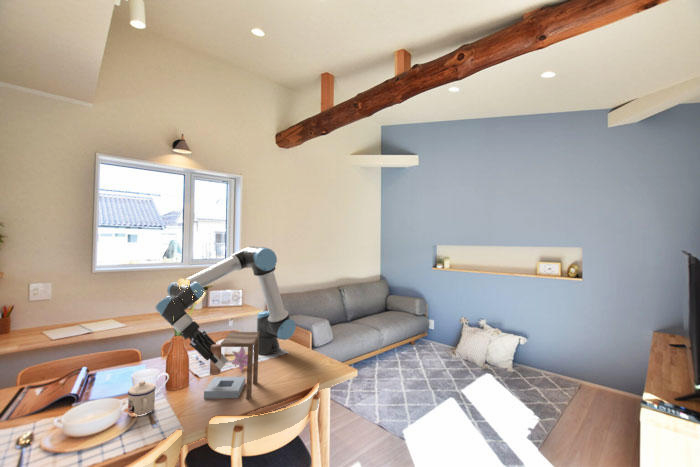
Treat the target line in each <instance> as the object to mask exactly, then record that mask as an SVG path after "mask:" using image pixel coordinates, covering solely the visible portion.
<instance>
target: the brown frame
mask: <svg viewBox="0 0 700 467" xmlns="http://www.w3.org/2000/svg"><path fill="white" fill-rule="evenodd" d="M220 345H221V348H241V347H244V348H247V354H248V361H247V366H246V392H245V393H246V397H245V398H246V400H251V399H252V393H253V391H252V390H253V389H252V388H253V385H257V384H258V380H259V378H258V377H259V375H258V374H259V354H258V353H259V332H257V331H230V333H228V334H227V336H225V338H224V339H223V340H222V341H221V342H220ZM253 347H254V352H253Z"/></svg>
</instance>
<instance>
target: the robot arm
mask: <svg viewBox="0 0 700 467" xmlns="http://www.w3.org/2000/svg"><path fill="white" fill-rule="evenodd" d="M277 262H278V259H277V255H276V252H275V251H274V250H272V249H271V248H269V247H265V246H264V247H263V246H247V247H244V248H242V249H240V250H238V251H236V252H234V253H232V254H230V255H229V257H228V258H226V259H224V260H222V261H220V262H218V263H216V264H213V265H212V266H210V267H208V268H206V269H203V270H202V271H199V272H198V273H196V274H194V275H192V276H189V277H187V278H186V279H189V280H190V285H189V287H188V285H182V286H180V285H178V282H179V281H175V282H172V283H170V284H169V285H168V287H167V294H168V296H166V297H164V298H163V299H161V300H160V301H159V302H158V303H157V304H156V305H155V309H156V310H155V311H156V312H158V313H159V314H160V316H161V317H162V318H163V319H164V320H165V321H166V322H167V323H168V324H170V326H171V327H173V330H175V331H176V332H178V333H179V334H180V336H181V337H182V336H183V337H182V338H183V339H185V340H187V339H189V340H190V343H189V346H191V347H192V348H194V350H195V351H196V352H198V354H200V356H202V357H203V358H204V359H205V360H206V361H210V360H211V361H212V362H213V363H214V364H215V365H216V366H217V367H218V368H219V369H221V370H222V369H223V367H225V366H226V363H228V361H229V359H228V358H227V357H226V356H225V355H224V354H223V352H221V360H220V359H219V358H218V357H217V356H216V355H215V354H214V355H213V353H212V352H211V345H214V344H217V343H216V342H215V341H214V340H213V339H212V338H211V337H210V336H209V335H208V334H207V331H205V330H204V331H201V330H199V329H200V325H199V324H198V323H197V321H194V318H192V316H191V315H189V314H188V313H187V311H186V310H187V309H188V308H190V307H191V306H192V305H193V304H195V303H196V302H197V301H199V300H200V299H201V298H202V297H203V296H204V295H203V293H204V292H205V293H206V291H205V287H206V286H209V285H210V284H212V283H214V282H216V281H218V280H220V279H222V278H223V277H225V276H226V277H227V275H229V274H231V273H233V272H235V271H241V270H243V269H248V268H251V270H252V272H253V275H254V277H257V279H258V282H259V285H260V288H261V291H262V294H263V298H264V302H265V305H266V308H267V310H263V311H260V312H258V313H257V318H256V319H257V320H256V322H257V324H256V332H259V353H258V355H263V356H264V355H265V356H266V355H273V354H276V353H278V352H280V349H281V348H280V342H279V340H283V341H285V340H288V339H290V338H292V337H293V335H294V333H295V331H296V328H297V326H296V325H297V324H296V322H295V320H294V319H292V318H291V317H290V315H289V314H290V313H289V311H288V310H286V309H285V306H284V302H283V300H282V297H281V293H280V288H279V286H278V282H277V279H276V276H275V271H276V266H277ZM179 286H180V289H181V290H180V289H179ZM187 288H188V289H187ZM195 290H196V291H197V292H196V291H195ZM201 290H202V291H201ZM184 291H185V292H184ZM194 291H195V292H194ZM203 291H204V292H203ZM193 294H194V295H193ZM202 295H203V296H202ZM192 296H193V298H192ZM200 297H201V298H200ZM199 298H200V299H199ZM182 299H183V300H182ZM192 299H193V300H192ZM173 301H174V302H173ZM174 303H175V304H174ZM173 316H174V321H173ZM174 323H175V324H174ZM182 333H183V334H182ZM253 350H254V346H253Z"/></svg>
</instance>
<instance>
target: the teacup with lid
mask: <svg viewBox="0 0 700 467" xmlns="http://www.w3.org/2000/svg"><path fill="white" fill-rule="evenodd" d="M127 394H128V402H127V403H128V405H127V413H128V412H129V413H135V414H137V415H142V414H145V413H148V412H150V411H152V410H153V409H154V410H155V401H156V400H155V398H156V397H155V396H156V395H155V394H156V384H154V383H152V382H146V381H145V380H141V381H139V382H138V383H137V384H135V385H133V386H132V387H129V389H128V391H127ZM154 410H153V411H154ZM153 411H152V412H153Z"/></svg>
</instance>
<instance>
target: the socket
mask: <svg viewBox="0 0 700 467" xmlns="http://www.w3.org/2000/svg"><path fill="white" fill-rule="evenodd" d="M245 384H246V376H214V377H213V378H212V379H211V381H210V382H209V383H208V385H207V386H206V388H205V389H204V391H203V399H238V398H239V397H240V395H241V393H242V391H243V388H244V386H246V385H245Z"/></svg>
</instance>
